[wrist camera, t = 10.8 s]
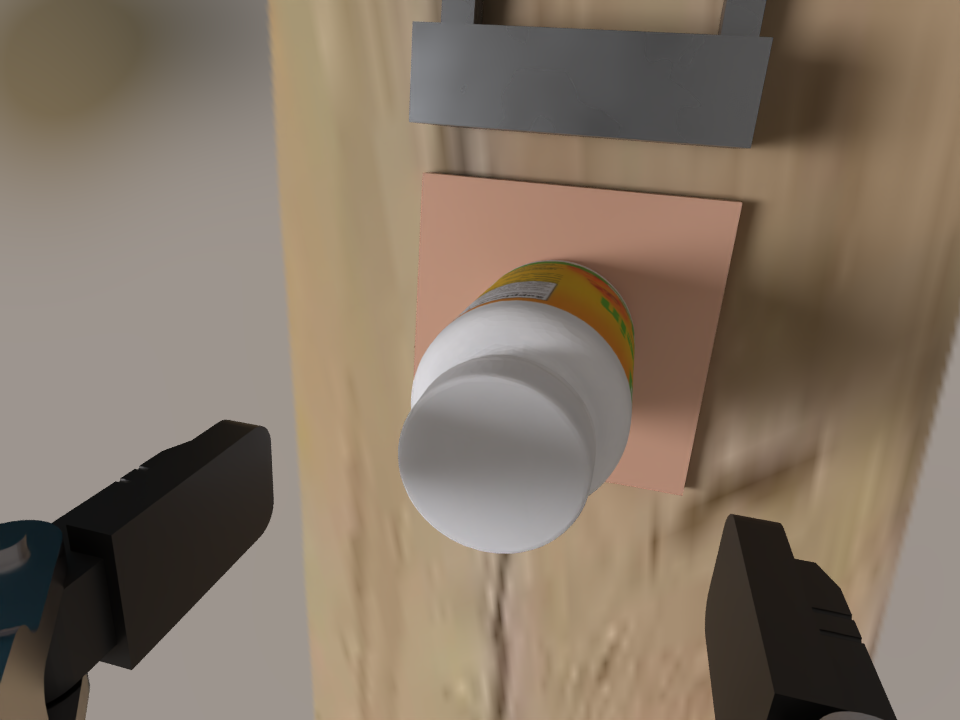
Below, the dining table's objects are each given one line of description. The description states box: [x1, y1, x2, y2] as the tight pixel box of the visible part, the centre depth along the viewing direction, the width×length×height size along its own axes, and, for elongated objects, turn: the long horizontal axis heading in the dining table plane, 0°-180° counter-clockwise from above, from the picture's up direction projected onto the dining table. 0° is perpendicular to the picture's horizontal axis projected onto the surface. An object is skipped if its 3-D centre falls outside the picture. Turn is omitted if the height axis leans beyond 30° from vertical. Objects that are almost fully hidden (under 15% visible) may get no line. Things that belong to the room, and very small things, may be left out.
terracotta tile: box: [414, 172, 742, 496], centre depth 22 cm, size 10×10×1 cm
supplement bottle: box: [398, 260, 635, 553], centre depth 17 cm, size 5×5×10 cm
